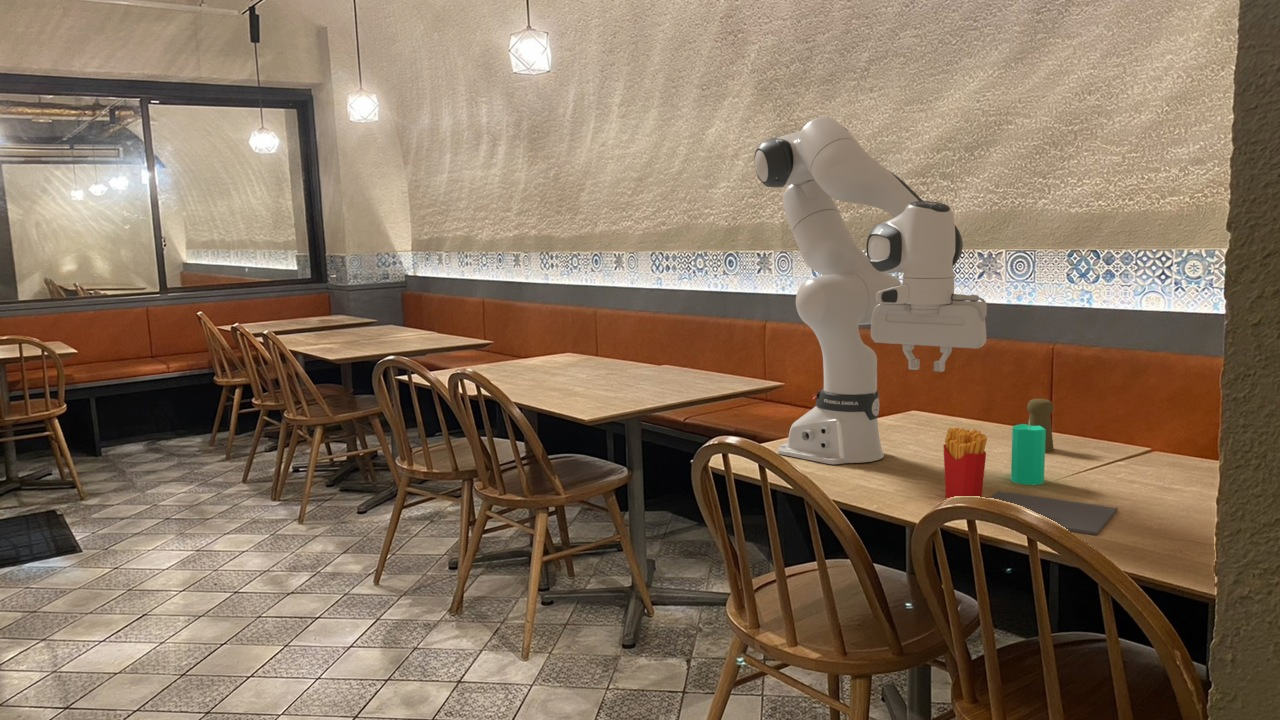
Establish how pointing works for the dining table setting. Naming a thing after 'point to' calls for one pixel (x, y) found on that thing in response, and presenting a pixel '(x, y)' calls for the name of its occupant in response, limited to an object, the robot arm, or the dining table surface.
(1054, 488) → the dining table surface
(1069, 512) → the mat
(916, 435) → the dining table surface
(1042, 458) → the candle
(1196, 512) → the dining table surface
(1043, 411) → the cork
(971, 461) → the french fries
